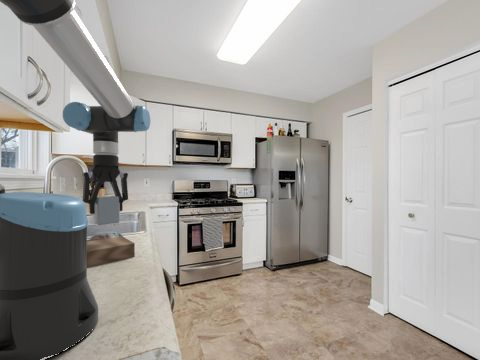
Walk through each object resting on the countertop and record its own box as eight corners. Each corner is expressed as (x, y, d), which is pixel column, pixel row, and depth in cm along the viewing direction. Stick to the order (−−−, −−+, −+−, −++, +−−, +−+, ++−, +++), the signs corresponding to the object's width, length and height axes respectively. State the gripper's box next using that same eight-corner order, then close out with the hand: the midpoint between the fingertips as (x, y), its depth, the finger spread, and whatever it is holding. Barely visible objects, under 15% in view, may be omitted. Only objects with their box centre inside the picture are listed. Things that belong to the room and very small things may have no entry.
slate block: (99, 225, 74) (99, 197, 74) (94, 223, 78) (94, 196, 78) (119, 222, 78) (118, 196, 78) (113, 220, 82) (113, 195, 82)
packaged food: (115, 245, 92) (115, 233, 92) (83, 247, 90) (83, 234, 90) (123, 240, 100) (123, 229, 100) (95, 241, 99) (95, 230, 99)
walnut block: (85, 268, 68) (85, 251, 68) (78, 257, 78) (78, 243, 78) (134, 257, 77) (134, 243, 77) (122, 249, 88) (122, 236, 88)
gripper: (130, 157, 88) (131, 217, 88) (70, 154, 74) (70, 224, 74) (138, 156, 82) (139, 219, 82) (74, 151, 69) (75, 228, 69)
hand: (106, 221), depth 78 cm, fingers closed on slate block, 6 cm apart
